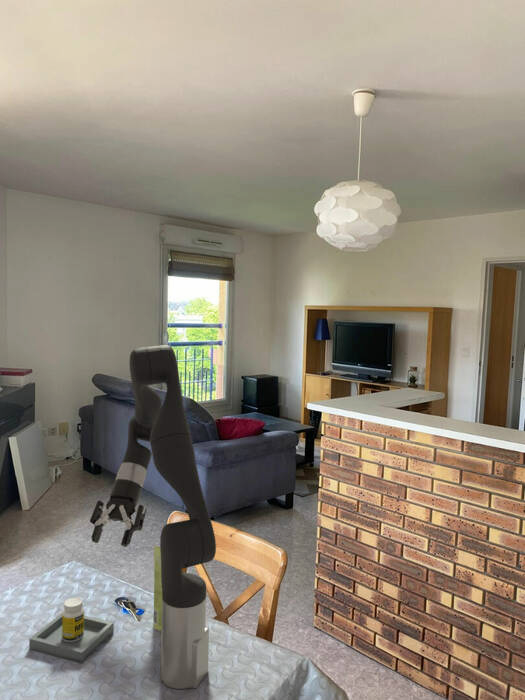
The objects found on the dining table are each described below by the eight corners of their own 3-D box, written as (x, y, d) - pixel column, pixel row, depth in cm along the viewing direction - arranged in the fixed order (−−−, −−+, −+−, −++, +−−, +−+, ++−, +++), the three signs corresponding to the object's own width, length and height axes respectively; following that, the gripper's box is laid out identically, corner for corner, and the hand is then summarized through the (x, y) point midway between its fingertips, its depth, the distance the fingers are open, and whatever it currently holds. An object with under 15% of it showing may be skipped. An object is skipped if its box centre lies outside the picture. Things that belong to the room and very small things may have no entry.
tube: (175, 618, 133) (177, 543, 132) (177, 630, 128) (178, 552, 127) (152, 621, 132) (153, 544, 131) (153, 633, 127) (154, 554, 126)
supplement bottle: (76, 644, 121) (76, 609, 120) (57, 641, 122) (57, 606, 121) (87, 632, 125) (87, 598, 125) (69, 629, 126) (69, 595, 126)
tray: (113, 632, 127) (113, 622, 127) (81, 663, 115) (82, 652, 115) (64, 620, 131) (64, 610, 131) (29, 649, 120) (29, 638, 119)
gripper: (99, 475, 143) (77, 536, 134) (146, 479, 139) (127, 543, 130) (112, 486, 149) (92, 545, 140) (158, 490, 144) (140, 551, 136)
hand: (109, 544), depth 135 cm, fingers open, 8 cm apart
